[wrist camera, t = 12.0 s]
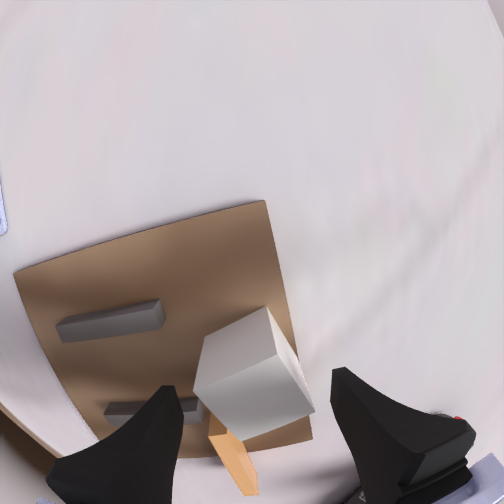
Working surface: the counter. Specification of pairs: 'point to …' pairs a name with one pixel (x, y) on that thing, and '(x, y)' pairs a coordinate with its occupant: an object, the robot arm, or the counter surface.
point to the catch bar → (233, 457)
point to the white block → (252, 377)
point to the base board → (156, 316)
